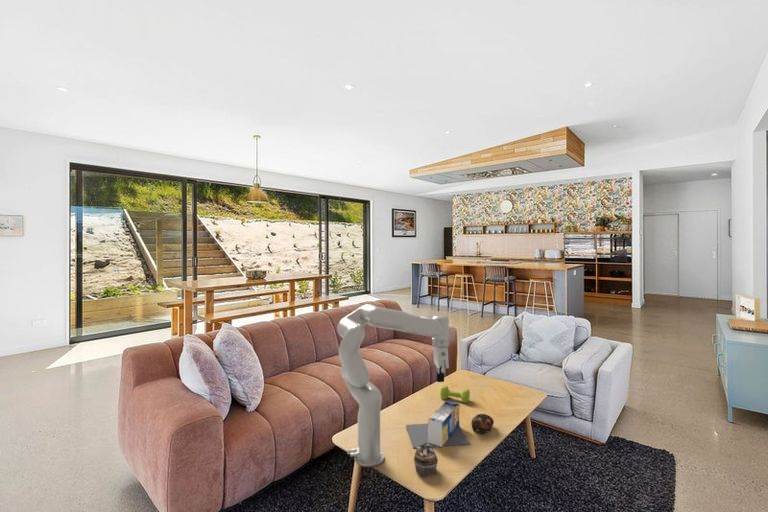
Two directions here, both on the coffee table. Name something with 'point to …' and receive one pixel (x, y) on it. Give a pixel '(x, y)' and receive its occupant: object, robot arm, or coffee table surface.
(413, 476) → the coffee table surface
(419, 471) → the cupcake
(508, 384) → the coffee table surface
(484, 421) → the decorative turtle
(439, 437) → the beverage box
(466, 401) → the dumbbell
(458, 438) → the mat
